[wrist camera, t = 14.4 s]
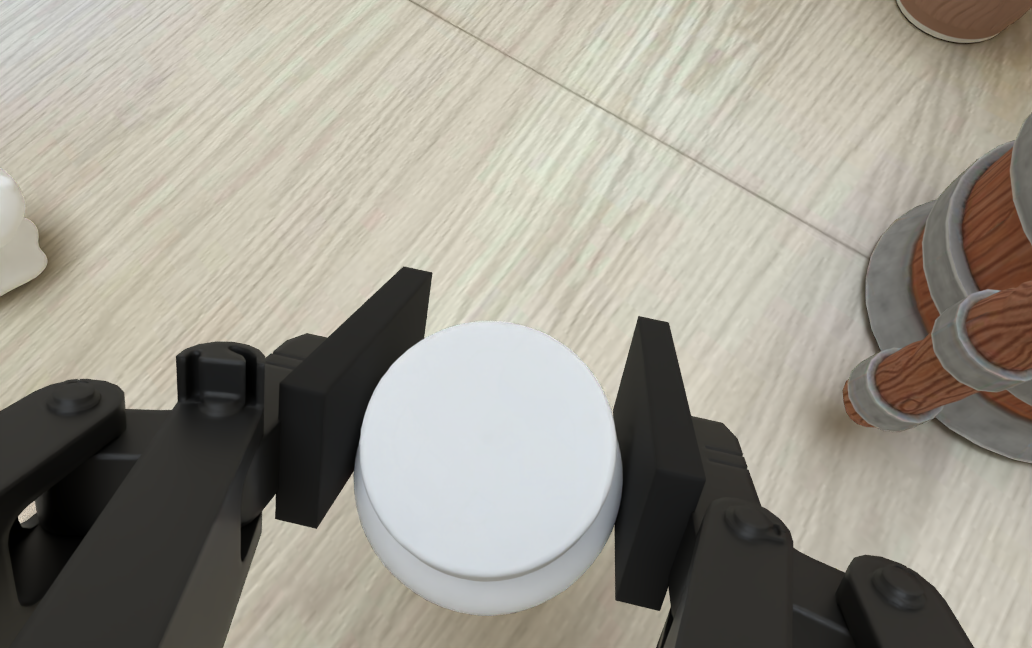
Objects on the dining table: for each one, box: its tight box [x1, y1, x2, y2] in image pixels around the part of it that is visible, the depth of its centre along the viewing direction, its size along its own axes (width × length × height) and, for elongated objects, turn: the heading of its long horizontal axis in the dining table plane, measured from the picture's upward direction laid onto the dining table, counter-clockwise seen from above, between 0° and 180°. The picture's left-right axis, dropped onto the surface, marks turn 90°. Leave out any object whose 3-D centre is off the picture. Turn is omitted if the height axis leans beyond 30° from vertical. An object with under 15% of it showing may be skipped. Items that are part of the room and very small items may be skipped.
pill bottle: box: [354, 321, 623, 616], centre depth 14 cm, size 5×5×9 cm
